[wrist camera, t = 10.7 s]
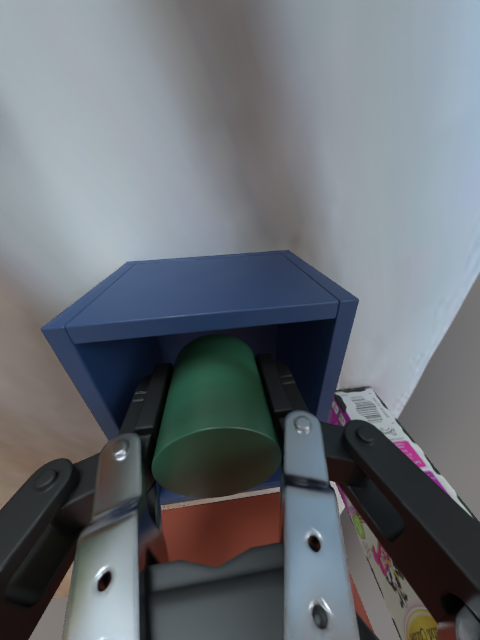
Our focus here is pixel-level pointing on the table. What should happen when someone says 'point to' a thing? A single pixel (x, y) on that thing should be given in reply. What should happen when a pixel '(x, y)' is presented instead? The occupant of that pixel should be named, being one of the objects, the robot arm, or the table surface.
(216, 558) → the lid
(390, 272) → the table surface
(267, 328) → the blue open box
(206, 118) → the table surface
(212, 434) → the cylinder piece
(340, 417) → the candy bar box
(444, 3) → the table surface
